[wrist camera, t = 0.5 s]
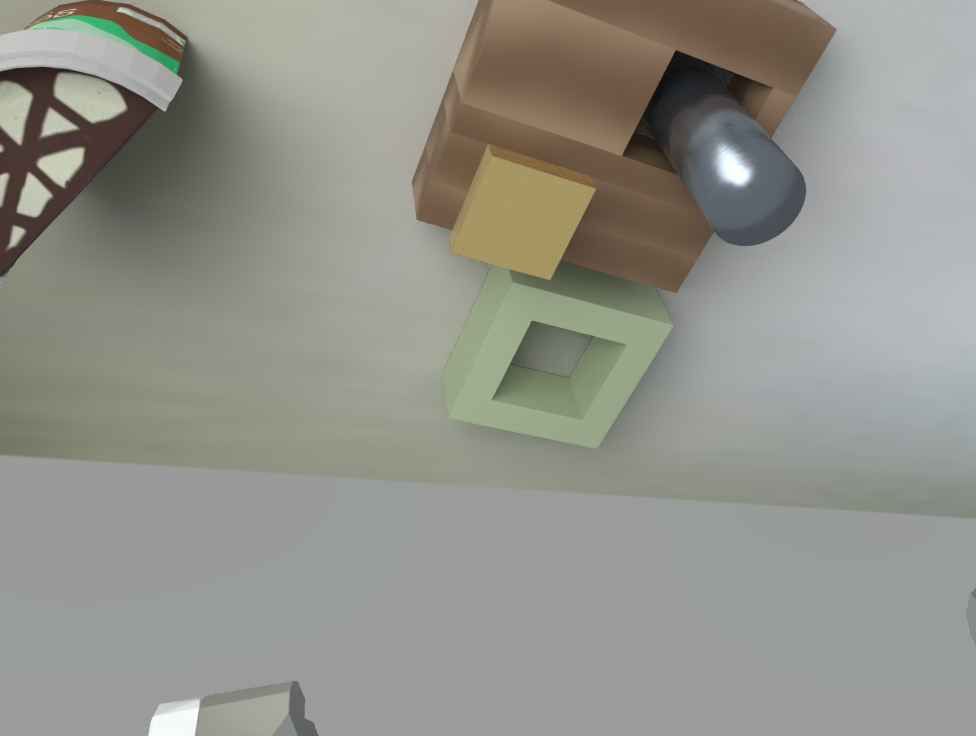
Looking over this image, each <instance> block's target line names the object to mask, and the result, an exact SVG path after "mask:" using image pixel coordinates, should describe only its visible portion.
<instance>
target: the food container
mask: <svg viewBox="0 0 976 736" xmlns="http://www.w3.org/2000/svg"><path fill="white" fill-rule="evenodd" d="M186 39H187V37H186V36H185V35H184V34H183V33H181V32H180V31H179V30H177V29H176V28H175V27H173V26H172V25H171V24H169V23H168V22H167V21H165V20H164V19H162V18H159V17H157V16H155V15H153V14H150V13H148V12H146V11H143V10H141V9H139V8H137V7H134V6H132V5H130V4H124V3H117V2H110V1H103V0H85V1H80V2H74V3H69V4H63V5H59V6H57V7H56V8H54V9H52V10H51V11H49V12H47V13H45V14H44V15H42V16H40V17H38V18H37V19H36V20H35V21H33V22H32V23H31V24H30V25H28V26H27V27H26V28H25V29H23V30H22V31H17V32H12V33H8V34H3V35H0V285H1V283H2V282H3V280H4V278H5V277H6V275H7V273H8V271H9V270H10V268H11V267H12V266H13V265H14V263H15V262H16V260H17V259H18V258H19V257H20V256H21V255H22V253H23V252H24V251H25V250H26V249H27V248H28V247H29V246H30V245H31V244H32V243H33V242H34V241H35V240H36V239H37V238H38V237H39V235H40V234H41V233H42V232H43V231H44V230H45V229H46V228H47V227H48V226H49V225H50V224H51V223H52V222H53V220H54V219H55V218H56V217H57V216H58V215H59V214H60V213H61V212H62V211H63V210H64V209H65V208H66V207H67V206H68V205H69V204H70V203H71V202H72V201H73V200H74V199H75V198H76V197H77V196H78V195H79V193H80V192H81V191H82V190H83V189H84V188H85V187H86V186H87V184H88V183H89V182H90V181H91V180H92V179H93V178H94V177H95V175H96V174H97V173H98V172H99V171H100V170H101V169H102V168H103V167H104V166H105V165H106V164H107V162H108V161H109V160H110V159H111V158H112V157H113V156H114V155H115V154H116V153H117V152H118V151H119V150H120V148H121V147H122V146H123V145H124V144H125V143H126V142H127V141H128V140H129V139H130V138H131V137H132V136H133V134H134V133H135V132H136V131H137V130H138V129H139V128H140V127H141V126H142V125H143V124H144V123H145V121H146V120H147V119H148V118H149V117H150V116H151V115H152V114H153V113H154V111H155V110H156V109H157V108H158V107H159V108H160V109H162V110H163V111H164V112H165V111H166V109H167V107H168V105H169V103H170V102H171V100H172V99H173V98H174V96H175V94H176V92H177V90H178V89H179V87H180V85H181V83H182V81H183V79H181V78H180V77H179V76H177V72H178V68H179V65H180V61H181V57H182V54H183V50H184V46H185V43H186Z"/></svg>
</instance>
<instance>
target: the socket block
mask: <svg viewBox="0 0 976 736" xmlns="http://www.w3.org/2000/svg"><path fill="white" fill-rule="evenodd" d="M836 30H837V29H835V28H834V27H833V26H832V25H830V24H829V23H828V22H826V21H825V20H824V19H822V18H821V17H820V16H818V15H817V14H816V13H814V12H813V11H812V10H810V9H809V8H808V7H807V6H805V5H804V4H803V3H801V2H799V1H797V0H479V2H478V4H477V7H476V10H475V13H474V15H473V18H472V21H471V23H470V26H469V29H468V32H467V34H466V37H465V40H464V42H463V45H462V48H461V51H460V53H459V56H458V59H457V61H456V64H455V67H454V70H453V72H452V75H451V78H450V80H449V83H448V86H447V89H446V91H445V94H444V97H443V99H442V102H441V105H440V108H439V110H438V113H437V116H436V118H435V121H434V124H433V127H432V129H431V132H430V135H429V137H428V140H427V143H426V146H425V148H424V151H423V154H422V156H421V159H420V162H419V165H418V167H417V170H416V173H415V175H414V178H413V181H412V186H413V193H414V201H415V209H416V217H417V220H419V221H423V222H426V223H430V224H434V225H437V226H441V227H444V228H448V229H451V230H453V227H454V225H455V223H456V220H457V218H458V215H459V213H460V210H461V208H462V206H463V203H464V201H465V198H466V196H467V193H468V191H469V189H470V186H471V184H472V181H473V179H474V176H475V174H476V172H477V169H478V167H479V164H480V162H481V159H482V157H483V155H484V152H485V150H486V147H487V145H488V144H491V145H494V146H497V147H501V148H504V149H507V150H510V151H513V152H516V153H519V154H522V155H526V156H529V157H532V158H535V159H538V160H541V161H544V162H547V163H550V164H554V165H557V166H560V167H563V168H566V169H569V170H572V171H575V172H578V173H582V174H585V175H588V176H590V177H591V179H592V181H593V183H594V185H595V187H596V190H595V192H594V194H593V196H592V198H591V200H590V202H589V204H588V206H587V208H586V210H585V212H584V214H583V216H582V218H581V220H580V222H579V224H578V226H577V228H576V230H575V232H574V234H573V236H572V238H571V240H570V242H569V244H568V246H567V248H566V250H565V252H564V254H563V256H562V258H561V261H565V262H568V263H572V264H575V265H579V266H582V267H586V268H590V269H593V270H597V271H600V272H604V273H607V274H611V275H614V276H618V277H621V278H625V279H629V280H632V281H636V282H639V283H643V284H646V285H650V286H653V287H657V288H660V289H664V290H668V291H671V292H675V293H676V292H677V291H678V289H679V288H680V286H681V284H682V283H683V281H684V279H685V278H686V276H687V274H688V273H689V271H690V270H691V268H692V266H693V265H694V263H695V261H696V260H697V258H698V256H699V255H700V253H701V252H702V250H703V248H704V247H705V245H706V243H707V242H708V240H709V238H710V237H711V235H712V233H713V232H714V230H713V228H712V227H711V225H710V224H709V222H708V221H707V219H706V217H705V216H704V214H703V213H702V211H701V210H700V208H699V207H698V205H697V203H696V202H695V200H694V199H693V197H692V196H691V194H690V193H689V191H688V189H687V188H686V186H685V185H684V183H683V182H682V180H681V179H680V177H679V175H678V174H677V172H676V171H675V169H674V168H673V166H672V165H671V163H670V161H669V160H668V158H667V157H666V155H665V154H664V152H663V150H662V149H661V147H660V146H659V144H658V143H657V141H656V140H654V139H651V138H648V137H645V136H642V135H639V134H636V133H634V131H635V129H636V127H637V125H638V123H639V121H640V119H641V117H642V115H643V113H644V111H645V109H646V107H647V105H648V103H649V101H650V99H651V97H652V95H653V94H654V92H655V90H656V88H657V86H658V84H659V82H660V80H661V78H662V76H663V74H664V72H665V70H666V68H667V66H668V64H669V62H670V60H671V58H672V56H673V54H674V52H675V50H677V51H680V52H683V53H685V54H688V55H690V56H693V57H695V58H698V59H701V60H703V61H706V62H708V63H711V64H714V65H716V66H719V67H721V68H724V69H726V70H729V71H732V72H734V73H735V74H734V76H733V78H732V80H731V81H730V83H729V85H728V87H727V89H728V90H729V91H730V92H731V93H732V94H733V96H734V97H735V98H736V99H737V100H738V101H739V102H740V104H741V105H742V106H743V107H744V108H745V109H746V110H747V111H748V113H749V114H750V115H751V116H752V117H753V118H754V119H755V121H756V122H757V123H758V124H759V125H760V126H761V127H762V128H763V130H764V131H765V132H766V133H767V134H768V135H769V136H770V138H771V137H772V135H773V133H774V132H775V130H776V129H777V127H778V125H779V124H780V122H781V120H782V119H783V117H784V115H785V114H786V112H787V111H788V109H789V107H790V106H791V104H792V102H793V101H794V99H795V97H796V96H797V94H798V93H799V91H800V89H801V88H802V86H803V84H804V83H805V81H806V79H807V78H808V76H809V74H810V73H811V71H812V70H813V68H814V66H815V65H816V63H817V61H818V60H819V58H820V56H821V55H822V53H823V52H824V50H825V48H826V47H827V45H828V43H829V42H830V40H831V38H832V37H833V35H834V34H835V32H836Z"/></svg>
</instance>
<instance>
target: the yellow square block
mask: <svg viewBox="0 0 976 736" xmlns="http://www.w3.org/2000/svg"><path fill="white" fill-rule="evenodd" d="M595 190H596V187H595V185H594V183H593V181H592V179H591V177H590V176H588V175H585V174H582V173H578V172H575V171H572V170H569V169H566V168H563V167H560V166H557V165H554V164H550V163H547V162H544V161H541V160H538V159H535V158H532V157H529V156H526V155H522V154H519V153H516V152H513V151H510V150H507V149H504V148H501V147H497V146H494V145H491V144H488V145H487V147H486V150H485V152H484V155H483V157H482V159H481V162H480V164H479V167H478V169H477V172H476V174H475V176H474V179H473V181H472V184H471V186H470V189H469V191H468V193H467V196H466V198H465V201H464V203H463V206H462V208H461V210H460V213H459V215H458V218H457V220H456V223H455V225H454V227H453V230H452V232H451V235H450V237H449V245H450V251H451V253H452V254H456V255H459V256H463V257H467V258H470V259H474V260H478V261H481V262H485V263H489V264H492V265H496V266H500V267H503V268H507V269H511V270H514V271H518V272H522V273H525V274H529V275H533V276H536V277H540V278H544V279H547V280H550V279H551V277H552V275H553V273H554V272H555V270H556V268H557V266H558V264H559V262H560V260H561V258H562V256H563V254H564V252H565V250H566V248H567V246H568V244H569V242H570V240H571V238H572V236H573V234H574V232H575V230H576V228H577V226H578V224H579V222H580V220H581V218H582V216H583V214H584V212H585V210H586V208H587V206H588V204H589V202H590V200H591V198H592V196H593V194H594V192H595Z"/></svg>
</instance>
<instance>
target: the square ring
mask: <svg viewBox="0 0 976 736" xmlns="http://www.w3.org/2000/svg"><path fill="white" fill-rule="evenodd" d="M531 321H536V322H540V323H544V324H548V325H552V326H556V327H560V328H564V329H568V330H571V331H575V332H579V333H583V334H587V335H591V336H593V337H592V339H591V340H590V342H589V344H588V346H587V347H586V349H585V351H584V353H583V355H582V356H581V358H580V360H579V362H578V363H577V365H576V367H575V369H574V371H573V372H572V374H571V376H570V378H566V377H562V376H558V375H553V374H549V373H545V372H541V371H536V370H532V369H528V368H524V367H519V366H515V365H511V364H510V363H511V361H512V359H513V357H514V355H515V353H516V351H517V349H518V347H519V345H520V343H521V341H522V339H523V337H524V335H525V333H526V331H527V329H528V327H529V325H530V323H531ZM673 326H674V324H673V322H672V320H671V318H670V316H669V314H668V312H667V310H666V308H665V306H664V304H663V302H662V300H661V298H660V296H659V294H658V292H657V290H656V288H655V287H653V286H650V285H646V284H643V283H639V282H636V281H632V280H629V279H625V278H621V277H618V276H614V275H611V274H607V273H604V272H600V271H597V270H593V269H590V268H586V267H582V266H579V265H575V264H572V263H568V262H565V261H561V260H560V262H559V264H558V266H557V268H556V270H555V272H554V273H553V275H552V277H551V279H550V280H547V279H544V278H540V277H536V276H533V275H529V274H525V273H522V272H518V271H514V270H511V269H507V268H503V267H500V266H496V265H492V266H491V268H490V270H489V273H488V275H487V277H486V279H485V281H484V284H483V286H482V288H481V290H480V292H479V295H478V297H477V299H476V301H475V303H474V306H473V308H472V310H471V312H470V314H469V317H468V319H467V321H466V323H465V325H464V328H463V330H462V332H461V334H460V336H459V339H458V341H457V343H456V345H455V347H454V350H453V352H452V354H451V356H450V359H449V361H448V363H447V365H446V367H445V370H444V372H443V374H442V380H443V387H444V394H445V402H446V409H447V417H448V418H449V419H454V420H459V421H464V422H469V423H473V424H478V425H483V426H488V427H493V428H498V429H502V430H507V431H512V432H517V433H522V434H527V435H531V436H536V437H541V438H546V439H551V440H556V441H560V442H565V443H570V444H575V445H580V446H585V447H590V448H594V449H597V448H598V446H599V445H600V443H601V442H602V440H603V438H604V437H605V435H606V434H607V432H608V430H609V429H610V427H611V426H612V424H613V422H614V421H615V419H616V418H617V416H618V414H619V413H620V411H621V410H622V408H623V406H624V405H625V403H626V402H627V400H628V398H629V397H630V395H631V394H632V392H633V390H634V389H635V387H636V386H637V384H638V382H639V381H640V379H641V378H642V376H643V374H644V373H645V371H646V370H647V368H648V366H649V365H650V363H651V362H652V360H653V358H654V357H655V355H656V354H657V352H658V350H659V349H660V347H661V346H662V344H663V342H664V341H665V339H666V338H667V336H668V334H669V333H670V331H671V330H672V328H673Z"/></svg>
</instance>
